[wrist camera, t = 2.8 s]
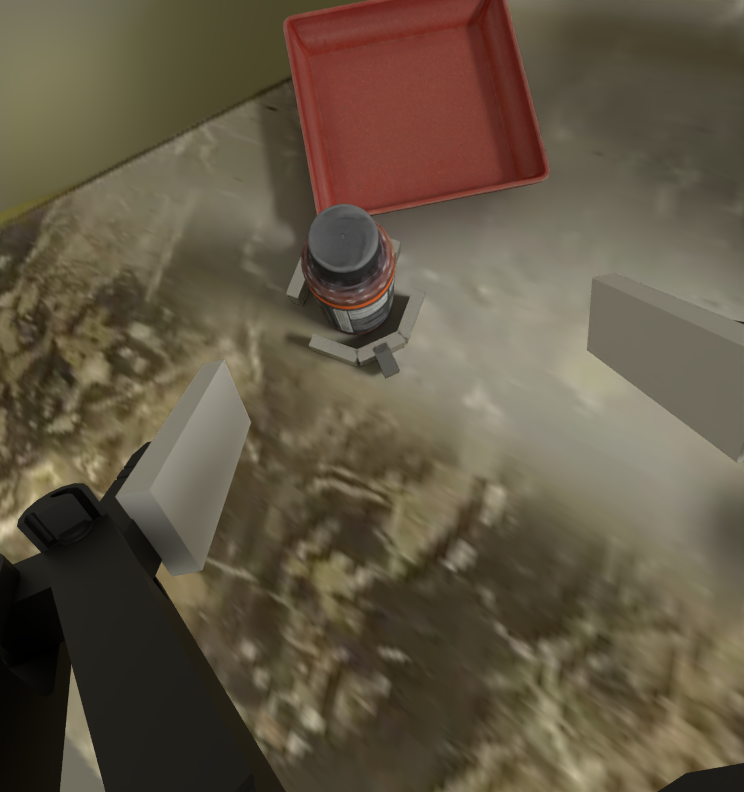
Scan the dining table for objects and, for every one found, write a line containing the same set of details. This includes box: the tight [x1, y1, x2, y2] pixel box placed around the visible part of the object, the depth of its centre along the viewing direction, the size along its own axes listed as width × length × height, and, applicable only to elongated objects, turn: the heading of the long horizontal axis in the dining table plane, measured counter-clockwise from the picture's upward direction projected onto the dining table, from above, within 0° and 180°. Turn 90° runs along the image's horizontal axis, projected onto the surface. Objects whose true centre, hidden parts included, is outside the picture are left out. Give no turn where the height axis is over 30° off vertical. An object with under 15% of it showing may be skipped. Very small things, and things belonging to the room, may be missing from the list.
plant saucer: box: [283, 0, 550, 216], centre depth 33 cm, size 18×18×3 cm
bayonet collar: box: [286, 238, 425, 378], centre depth 33 cm, size 10×14×2 cm
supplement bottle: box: [301, 204, 395, 335], centre depth 28 cm, size 6×6×11 cm
